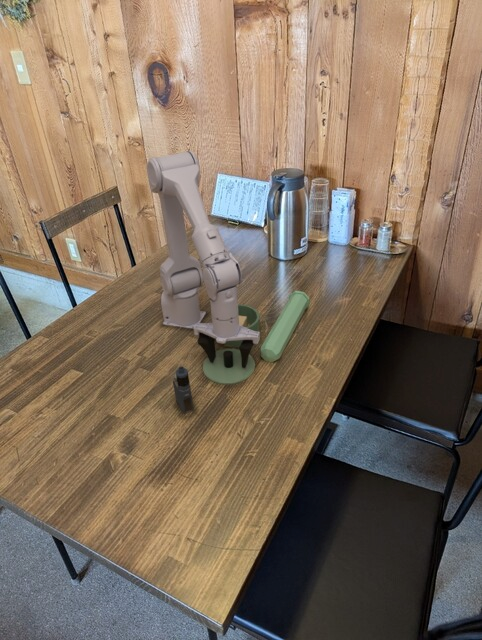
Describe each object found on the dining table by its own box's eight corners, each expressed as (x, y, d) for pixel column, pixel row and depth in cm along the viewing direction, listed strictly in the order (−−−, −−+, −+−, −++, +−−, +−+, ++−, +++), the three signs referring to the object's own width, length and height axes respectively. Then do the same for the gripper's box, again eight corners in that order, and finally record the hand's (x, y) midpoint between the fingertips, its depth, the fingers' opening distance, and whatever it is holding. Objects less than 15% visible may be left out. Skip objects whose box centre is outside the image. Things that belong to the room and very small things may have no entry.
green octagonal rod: (274, 345, 99) (305, 288, 117) (251, 348, 102) (286, 292, 121) (283, 366, 101) (313, 307, 120) (261, 368, 105) (293, 310, 123)
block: (227, 336, 112) (226, 323, 110) (232, 327, 115) (231, 314, 113) (243, 338, 111) (242, 325, 109) (247, 329, 114) (246, 316, 112)
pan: (209, 344, 110) (207, 326, 107) (223, 319, 119) (222, 301, 116) (252, 351, 107) (252, 332, 104) (264, 324, 116) (264, 307, 113)
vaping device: (184, 418, 91) (177, 374, 84) (175, 402, 95) (167, 358, 88) (196, 413, 92) (189, 369, 85) (186, 397, 95) (179, 354, 89)
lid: (195, 381, 100) (193, 366, 97) (213, 348, 109) (212, 334, 106) (246, 390, 96) (246, 375, 94) (261, 356, 106) (260, 341, 103)
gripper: (185, 319, 93) (192, 368, 100) (252, 328, 89) (254, 379, 97) (198, 301, 98) (203, 349, 106) (261, 309, 94) (262, 358, 102)
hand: (228, 362), depth 102 cm, fingers open, 7 cm apart
